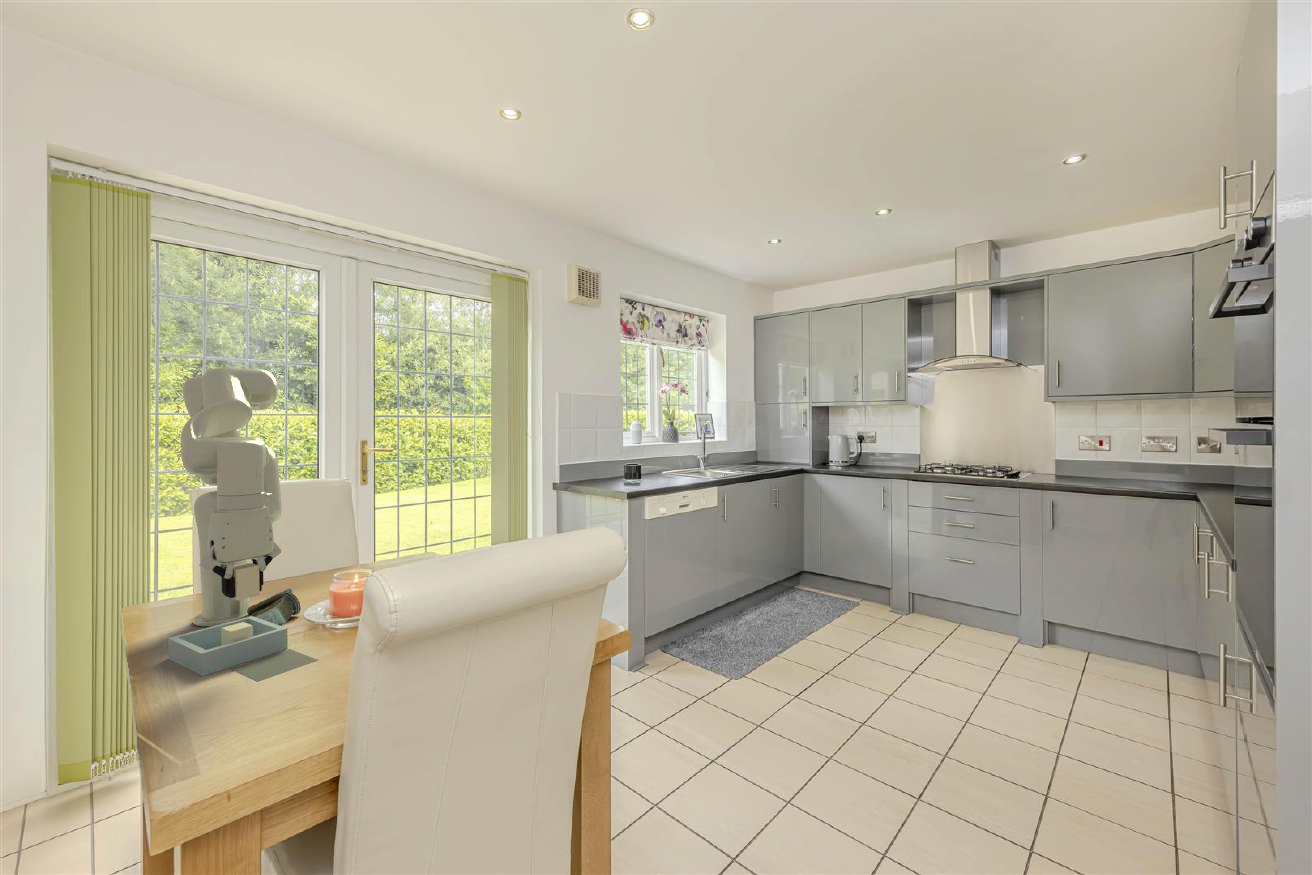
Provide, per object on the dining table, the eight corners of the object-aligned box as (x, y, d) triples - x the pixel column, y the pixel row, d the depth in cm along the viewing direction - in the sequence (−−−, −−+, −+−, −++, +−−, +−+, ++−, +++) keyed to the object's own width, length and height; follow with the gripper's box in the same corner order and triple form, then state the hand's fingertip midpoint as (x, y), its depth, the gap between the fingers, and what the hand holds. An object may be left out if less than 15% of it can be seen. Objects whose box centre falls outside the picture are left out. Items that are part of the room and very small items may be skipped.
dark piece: (229, 630, 132) (263, 596, 131) (243, 611, 139) (276, 579, 138) (266, 651, 136) (300, 619, 135) (278, 632, 142) (311, 601, 141)
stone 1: (226, 596, 112) (226, 566, 112) (249, 591, 116) (248, 562, 115) (236, 600, 110) (236, 570, 110) (259, 594, 114) (259, 565, 113)
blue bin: (168, 659, 115) (167, 638, 115) (252, 635, 128) (251, 615, 128) (202, 677, 107) (201, 653, 107) (287, 649, 121) (287, 628, 120)
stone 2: (221, 656, 115) (221, 627, 115) (244, 650, 119) (243, 621, 119) (231, 661, 113) (230, 631, 113) (253, 654, 117) (252, 625, 117)
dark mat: (229, 669, 111) (229, 668, 111) (289, 650, 120) (289, 648, 120) (257, 683, 105) (257, 681, 105) (318, 661, 114) (318, 659, 114)
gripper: (276, 495, 121) (278, 579, 122) (181, 506, 107) (183, 601, 107) (296, 498, 117) (297, 585, 118) (199, 510, 103) (201, 609, 104)
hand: (243, 592), depth 113 cm, fingers closed on stone 1, 4 cm apart
